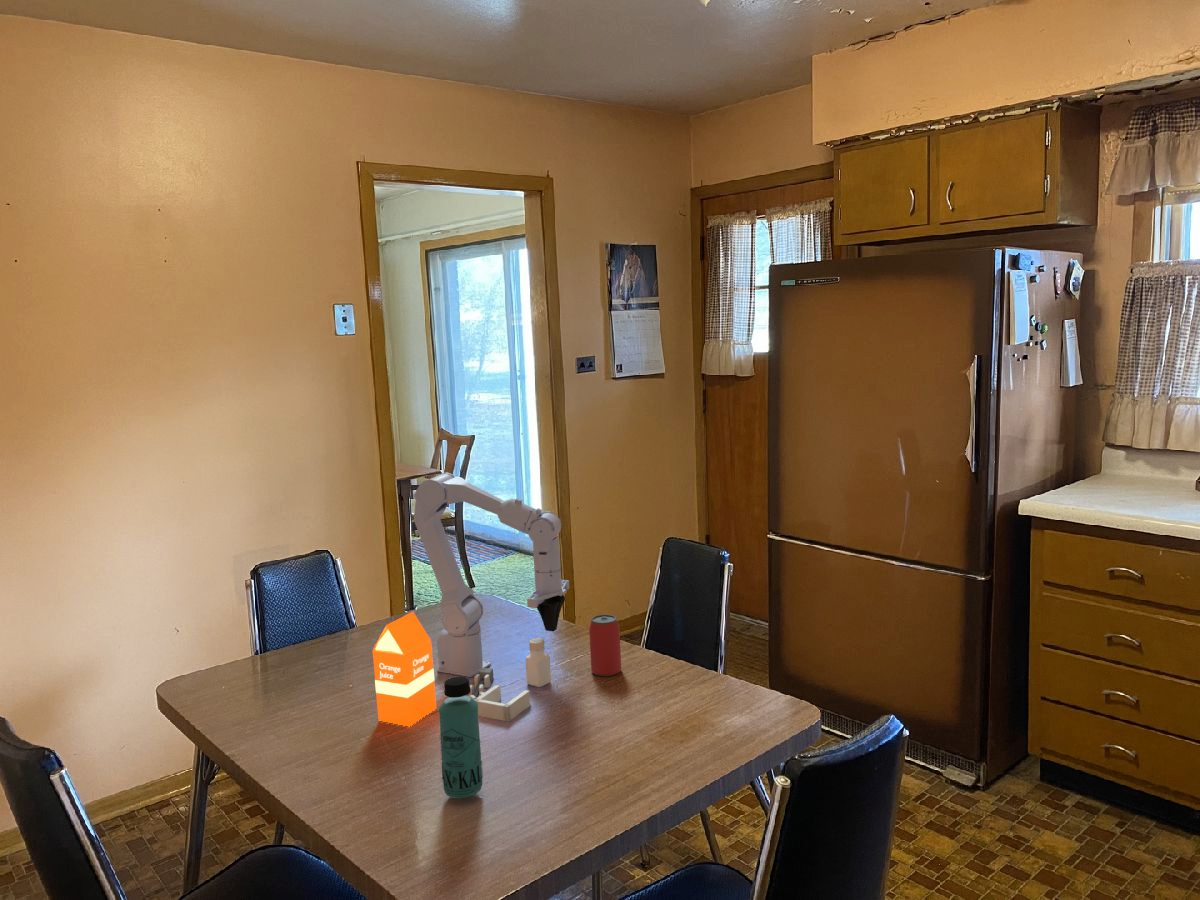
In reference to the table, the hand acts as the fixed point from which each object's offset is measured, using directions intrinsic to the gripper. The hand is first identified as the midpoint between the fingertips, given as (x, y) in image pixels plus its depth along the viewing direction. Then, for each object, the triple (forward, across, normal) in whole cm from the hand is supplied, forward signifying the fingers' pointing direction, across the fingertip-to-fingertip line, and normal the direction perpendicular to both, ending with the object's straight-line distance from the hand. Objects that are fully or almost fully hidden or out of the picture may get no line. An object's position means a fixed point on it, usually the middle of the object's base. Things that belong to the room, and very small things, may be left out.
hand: (551, 630), depth 190 cm
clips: (+10, -16, +8) cm, 20 cm away
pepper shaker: (+10, -6, 0) cm, 12 cm away
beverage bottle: (+10, -50, -12) cm, 52 cm away
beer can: (+10, +5, -10) cm, 15 cm away
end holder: (+10, -20, 0) cm, 22 cm away
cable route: (+10, -15, +8) cm, 19 cm away
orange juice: (+10, -29, +16) cm, 35 cm away
